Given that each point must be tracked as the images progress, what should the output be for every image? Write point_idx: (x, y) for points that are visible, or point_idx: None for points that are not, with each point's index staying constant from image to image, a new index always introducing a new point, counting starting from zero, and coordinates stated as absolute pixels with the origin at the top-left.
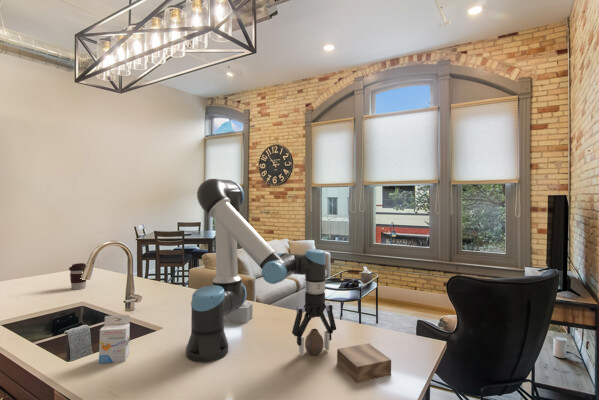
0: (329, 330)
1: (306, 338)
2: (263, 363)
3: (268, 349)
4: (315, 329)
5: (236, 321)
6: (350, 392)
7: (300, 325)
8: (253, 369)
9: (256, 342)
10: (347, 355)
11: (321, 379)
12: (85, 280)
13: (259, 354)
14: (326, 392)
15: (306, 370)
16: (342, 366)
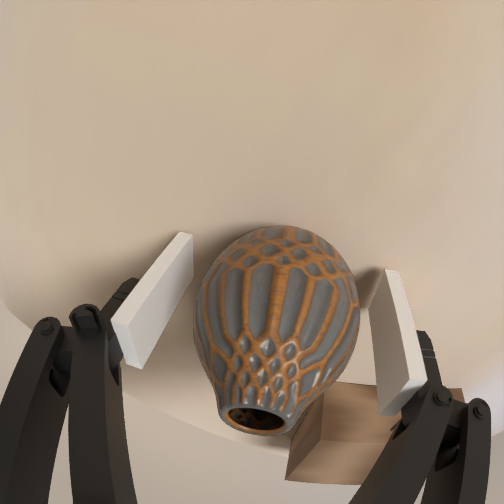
0: (397, 436)
1: (194, 324)
2: (28, 224)
3: (47, 96)
4: (289, 403)
5: None
6: (248, 443)
7: (71, 405)
8: (11, 244)
9: (29, 3)
10: (312, 463)
11: (202, 399)
12: None
13: (15, 141)
14: (191, 421)
15: (171, 352)
16: (311, 410)
